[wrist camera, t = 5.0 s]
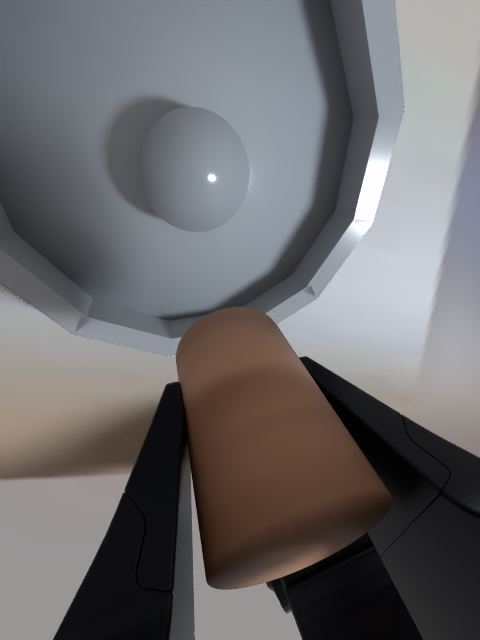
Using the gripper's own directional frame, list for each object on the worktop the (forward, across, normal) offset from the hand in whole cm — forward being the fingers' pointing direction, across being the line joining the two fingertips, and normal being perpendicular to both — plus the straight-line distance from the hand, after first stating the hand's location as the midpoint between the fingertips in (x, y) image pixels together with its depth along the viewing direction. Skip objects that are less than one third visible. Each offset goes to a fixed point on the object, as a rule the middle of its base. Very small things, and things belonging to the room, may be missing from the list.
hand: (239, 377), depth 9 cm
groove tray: (+8, 0, -5) cm, 10 cm away
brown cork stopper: (+1, 0, 0) cm, 1 cm away
